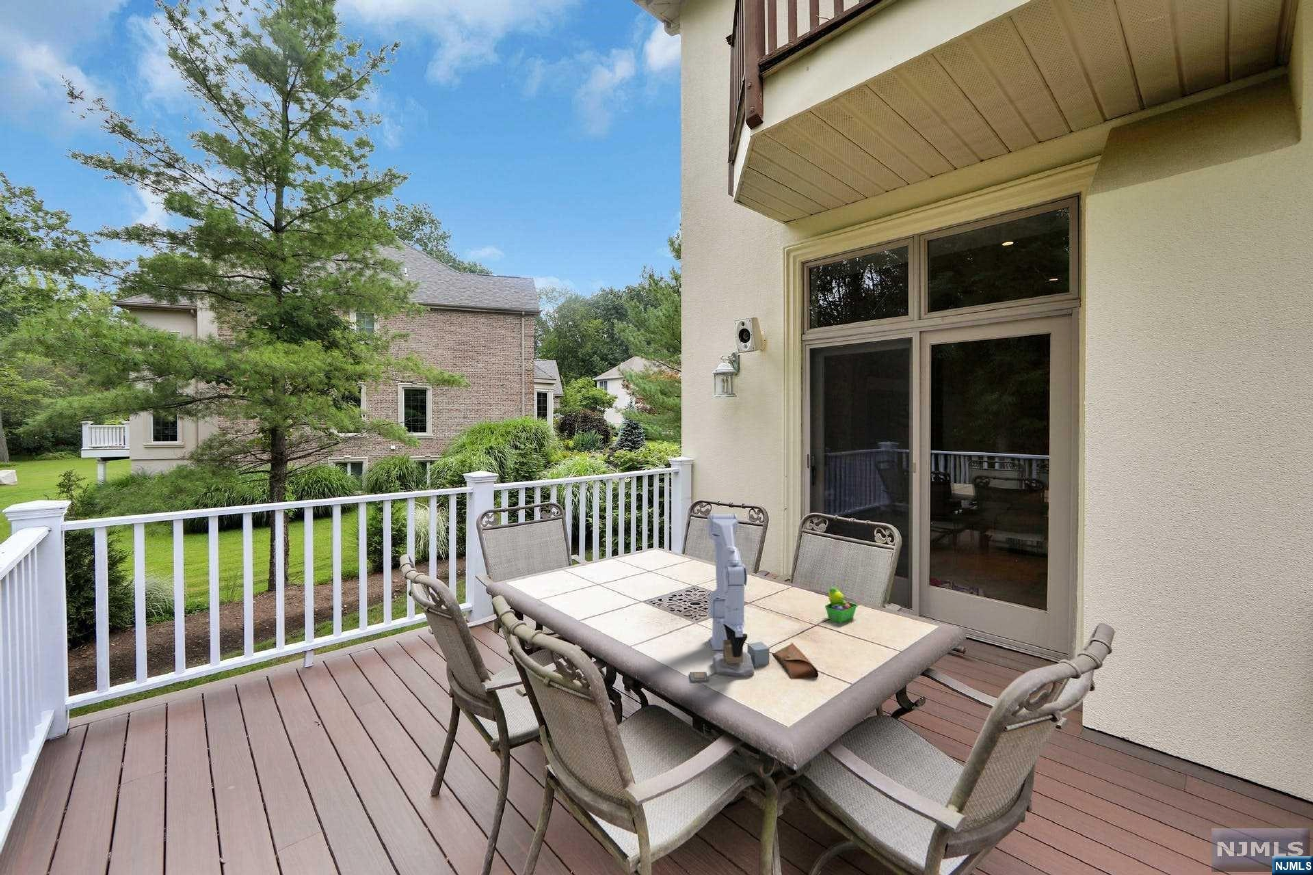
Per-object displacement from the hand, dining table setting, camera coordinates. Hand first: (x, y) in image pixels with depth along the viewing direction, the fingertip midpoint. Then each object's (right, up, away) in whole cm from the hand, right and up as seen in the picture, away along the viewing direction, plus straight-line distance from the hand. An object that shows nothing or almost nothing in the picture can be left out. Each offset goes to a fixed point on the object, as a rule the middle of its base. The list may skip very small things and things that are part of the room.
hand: (734, 650), depth 156 cm
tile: (-11, -7, -3) cm, 13 cm away
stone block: (0, -7, +2) cm, 7 cm away
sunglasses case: (+19, -7, +5) cm, 21 cm away
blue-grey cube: (+9, -7, +8) cm, 13 cm away
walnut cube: (0, -3, +1) cm, 3 cm away
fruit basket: (+47, -6, +44) cm, 65 cm away
